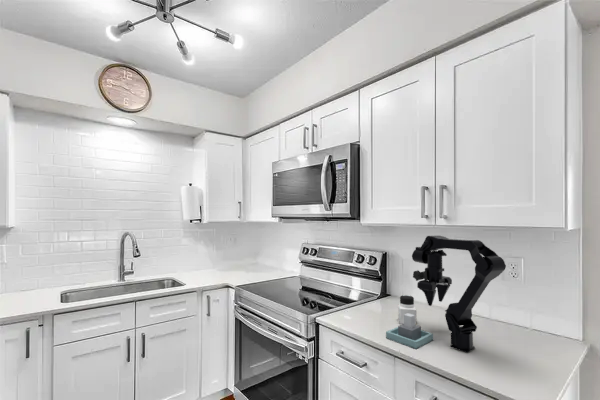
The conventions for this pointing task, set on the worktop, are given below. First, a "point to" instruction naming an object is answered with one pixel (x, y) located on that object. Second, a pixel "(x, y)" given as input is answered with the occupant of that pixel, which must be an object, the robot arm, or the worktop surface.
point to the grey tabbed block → (409, 328)
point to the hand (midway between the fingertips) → (435, 303)
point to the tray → (424, 339)
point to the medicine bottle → (406, 307)
